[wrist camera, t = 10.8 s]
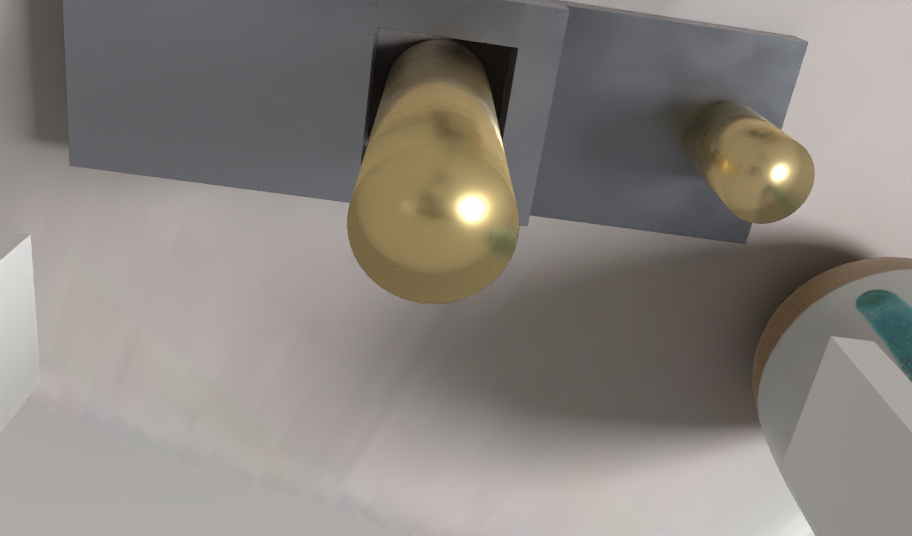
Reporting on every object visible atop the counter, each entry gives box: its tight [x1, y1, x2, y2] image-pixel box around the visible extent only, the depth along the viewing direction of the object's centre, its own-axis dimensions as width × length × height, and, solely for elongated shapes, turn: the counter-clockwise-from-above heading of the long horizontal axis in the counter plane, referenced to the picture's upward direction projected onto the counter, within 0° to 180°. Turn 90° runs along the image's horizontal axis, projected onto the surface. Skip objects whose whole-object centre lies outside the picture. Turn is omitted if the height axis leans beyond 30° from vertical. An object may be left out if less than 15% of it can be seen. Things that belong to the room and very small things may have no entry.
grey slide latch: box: [63, 0, 814, 244], centre depth 30 cm, size 8×26×6 cm, turn 82°
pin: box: [347, 39, 519, 304], centre depth 26 cm, size 4×4×14 cm
